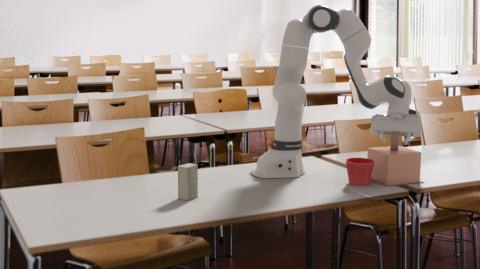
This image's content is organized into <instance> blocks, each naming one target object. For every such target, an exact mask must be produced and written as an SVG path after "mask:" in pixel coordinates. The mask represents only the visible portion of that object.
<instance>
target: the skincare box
mask: <svg viewBox="0 0 480 269" xmlns="http://www.w3.org/2000/svg"><path fill="white" fill-rule="evenodd" d="M198 166H199V164H195V163H191V162H189V163H185V164H184V163H183V164H181V165H178V166H177V198H178V199H180V200H184V201H188V200H192V199H195V198H198V197H199V189H198V188H199V186H198V182H199V180H198V172H199V171H198V170H199V169H198Z"/></svg>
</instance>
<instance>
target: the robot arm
mask: <svg viewBox="0 0 480 269" xmlns="http://www.w3.org/2000/svg"><path fill="white" fill-rule="evenodd" d="M330 31H333V32H334V33H335V34H336V35H337V36H338V38H339V40H340V42H341V43H342V45H343V49H344V56H343V59H344V64H345V65H346V69H347V71H348V74H349V75H350V78H351V81H352V84H353V86H354V87H355V89H356V94H357V97H358V98H357V99H358V102H359V103H360V104H361V105H362V106H363V107H365V108H367V109H369V110H373V109H375V108H377V107H379V106H380V105H382V104H384V103H388V107H387V111H386V112H387V113H386V114H379V113H378V114H377V113H376V114H375V115H372V116H371V124H370V133H371V134H372V135H376V136H377V135H378V136H379V138H380V139H381V140H380V142H381V144H386V142H387V140H386V137H384V136H391V132H398V133H399V137H406V138H403V140H402V143H403V145H405V146H407V145H408V143H409V141H410V140H411V138H420V137H421V136H423V135H422V132H423V130H422V128H423V126H422V119H421V114H420V111H418V110H416V109H412V108H410V106H411V104H412V103H411V102H412V86H411V85H410V83H409V82H407V81H406V80H402V79H398V78H397V77H395V76H393V75H385V76H382V77H380V78H378V79H377V80H376V81H373V82H371V83H369V82H368V80H367V78H366V75H365V73H364V70H363V69H362V67H361V66H362V65H361V61H362V60H363V58H364V56H365V54H367V52H368V50H369V49H370V46H371V45H372V44H371V43H372V37H371V35H370V33H369V31H368V30H367V28H366V26H365V25H364V22H362V19H361V18H360V17H359V16H358V15H357V14H356V12H354V11H353V9H351V8H342V9H339V10H338V11H336V10H335V9H334V8H332V7H330V6H328V5H324V4H315V5H314V6H312V7H311V8H310V9H309V10H308V11H307V13H306V14H305V15H304V17H302V18H300V19H299V18H294V19H291V20H290V21H288V22H287V24H286V28H285V30H284V33H283V38H282V44H281V50H280V56H279V57H280V58H279V62H278V63H279V64H278V68H277V72H276V75H275V79H274V83H273V87H272V97H273V98H274V100H275V102H277V112H276V118H275V121H274V139H273V140H270V139H267V141H266V144H267V146H270V149H268V150H266V152H264V153H263V154H261V156H259V157H258V159H257V162H256V165H255V167H256V168H253V169H251V170H250V173H251V175H253V176H254V177H257V178H261V179H280V178H282V179H285V178H287V179H288V178H299V177H300V176H303V175H304V174H305V170H304V165H303V159H302V157H303V154H302V152H303V139H302V128H303V127H302V122H303V116H304V110H305V105H306V104H305V102H306V101H307V92H306V89H305V86H303V85H302V84H301V83H302V79H303V76H304V73H305V71H306V68H307V65H308V64H307V63H308V56H309V50H310V42H311V38H312V36H313V34H317V33H319V34H322V33H325V32H330Z"/></svg>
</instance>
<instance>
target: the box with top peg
mask: <svg viewBox="0 0 480 269" xmlns="http://www.w3.org/2000/svg"><path fill="white" fill-rule="evenodd" d="M399 139H400V136H399V133H398V132H391V135H390V141H389V143H390V144H389V145H388V146H375V147H374V146H373V147H367V158H368V159H372V160H374V167H373V171H372V175H371V179H373V180H375V181H378V182H380V183H383V184H385V185H396V184H407V183H417V182H420V181H421V167H422V166H421V165H422V164H421V163H422V152H421V151H418V150H415V149H411V148H408V147H405V146H403V145H402V146H401V145H399V143H400V142H399V141H400V140H399Z"/></svg>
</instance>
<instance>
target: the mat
mask: <svg viewBox="0 0 480 269" xmlns="http://www.w3.org/2000/svg"><path fill="white" fill-rule="evenodd" d="M370 182H374V183H375V184H376V183H377V184H378V185H381V186H383V187H387V188H388V187H395V186H396V187H397V186H405V185H406V186H407V185H419V184H425V182H424V181H422V180H420V182H417V183H407V184H396V185H385V184H383V183H380V182H378V181H375V180H373V179H370Z"/></svg>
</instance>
